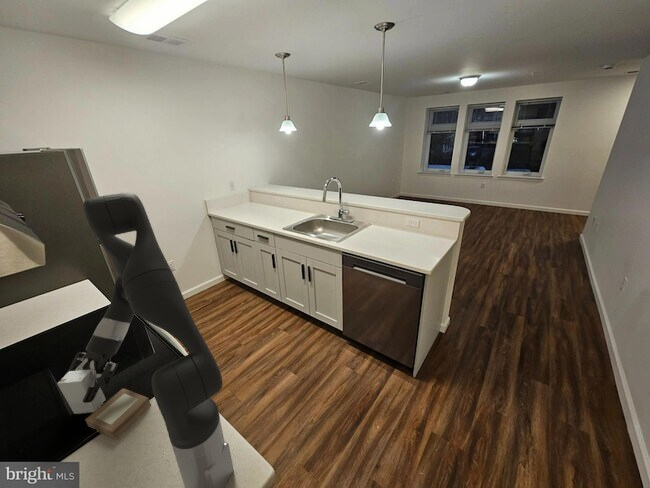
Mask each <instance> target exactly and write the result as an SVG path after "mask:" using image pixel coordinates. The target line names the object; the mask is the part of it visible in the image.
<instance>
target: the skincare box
mask: <svg viewBox="0 0 650 488" xmlns="http://www.w3.org/2000/svg"><path fill="white" fill-rule="evenodd" d="M90 372H91V370H80V371H69V372H68V373H67V372H66V373H65V375H64V376H63V377H62V378H60V380H59V381H58V382H57V386H58V388H59V389H60V391H61V393H62V394H63V397H64V398H65V400H66V402H67V404H68V406H69V407H70V409H71V411H72V412H73V414H74V415H76V414H77V415H79V414H87V413H94V412H95V411H96V410H97V409H99V408H100V407H101V405H103V404H104V403H105V402H106V399H107V398H106V397H105V394H104V392H103V390H102V388H101V387H100V388H99V390H98V392H97V394H96V396H95V398H94V399H93V401H92V402H89V403H84V402H82V401H83V399H84V397H85V395H86V393H87V391H88V389H89V387H91V379H90ZM96 382H98V380H97V381H96ZM104 401H105V402H104ZM103 402H104V403H103Z"/></svg>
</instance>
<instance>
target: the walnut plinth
mask: <svg viewBox="0 0 650 488" xmlns="http://www.w3.org/2000/svg"><path fill="white" fill-rule="evenodd" d="M151 406H152V404H151V402H150V398H149V397H147V396H144V395H142V394H139V393H136V392H134V391H132V390H129V389H126V388H121V389H120V390H119V391H118V392H116V393H115V394H114V395H113V396H112V397H111V398H109V399H108V400H107V401H105V402H104V403H103V404H102V406H101V407H100V408H99V409H97V410H96V411H95V412H92V413H91V414H90V415H89V416H88V417H86V418H85V419H84V420H85V422H86V425H87V427H88V428H89V427H91V428H93V429H96V430H97V431H96V432H98V433H99V434H102V435H104V436H106V437H109V438H110V439H113V440H114V441H116V440H118V439H119V438H120V436H121V435H123V433H125V431H127V430H128V429H129V428H130V427H131V426H132V425H133V424H134V423H135V422H136V421H137V420H138V419H139V418H140V416H142V415H143V414H144V413H145V412H146V411H147V410H148V409H149V408H150V407H151ZM91 428H90V429H91ZM93 429H92V430H93Z"/></svg>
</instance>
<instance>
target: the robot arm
mask: <svg viewBox="0 0 650 488" xmlns="http://www.w3.org/2000/svg"><path fill="white" fill-rule="evenodd" d="M82 206H83V213H84V215H85V218H86V221H87V223H88V226H89V228H90V229H91V231H92V233H93V234H94V236H95V237H96V239H97V241H98V242H99V244H100V245H101V247H102V248H103V249H104V251H105V253H106V254H108V256H109V257H110V259H111V262H112V264H113V266H114V268H115V270H116V273H117V276H116V278H115V282H114V287H113V292H112V297H111V300H110V304H109V306H108V308H107V310H106V312H105V313H104V315H103V317H102V319H101V320H100V321H99V323H98V324H97V326H96V328H95V330H94V332H93V334H92V335H91V338H90V340H89V341H88V343H87V346H86V347H85V351H86V352H80V351H79V352H77V353H76V354H75V357H74V358H73V360H72V361H71V364H70V366H69V368H68V370H67V371H66V374H67V373H68V372H69V371H80V370H91V372H90V379H91V387H89V389H88V391H87V393H86V395H85V397H84V399H83V401H82V402H84V403H89V402H92V401H93V399H94V398H95V396H96V394H97V392H98V390H99V388H101V387H108V386H109V384H110V382H111V380H112V378H113V377H114V374H115V373H116V370H117V368H118V366H119V364H118V363H115V362H112V357H113V356H115V355H117V353H118V351H119V349H120V347H121V345H122V343H123V341H124V339H125V337H126V335H127V333H128V330H129V328H130V325H131V323H132V321H133V319H134V316H135V315H136V316H138V317H140V318H141V319H143V320H144V321H146V322H147V323H150V324H152V325H154V326H156V327H157V328H159V329H162V330H164V331H165V332H166V333H168V334H170V335H171V336H173V337H174V338H176V339H177V340H178V341H179V342H180V343H181V345H182V346H183V347H184V349H186V351H187V352H188V354H186V355H184V356H182V357H180V358H178V359H176V360H174V361H172V362H170V363H168V364H166V365H164V366H162V367H160V368H158V369H157V370H155V372H153V374H152V376H151V389H152V394H153V396H154V399H155V401H156V404H157V406H158V409H159V412H160V414H161V416H162V419H163V422H164V424H165V427H166V430H167V435H168V438H169V441H170V444H171V447H172V450H173V454H174V457H175V460H176V464H177V467H178V469H179V473H180V476H181V479H182V483H183V486H184V488H225V487H226V485H227V483H228V482H229V479H230V477H231V475H232V474H233V473H234V465H233V459H232V455H231V450H230V443H229V442H226V440H225V437H224V433H223V426H222V423H221V417H220V413H219V412H220V411H219V408H218V405H217V402H216V401H214V400H213V399H212V397H213V396H215V395H217V394H218V393H219V392H220V391H221V390H222V388H223V384H224V383H223V377H222V373H221V370H220V368H219V366H218V363H217V360H216V359H215V358H214V356H213V353H212V351H211V349H210V348H209V345H208V344H207V342H206V341H205V339H204V338H203V335H202V333H201V332H200V330H199V328H198V326H197V324H196V323H195V320H194V318H193V317H192V315H191V312H190V309H189V307H188V305H187V303H186V300H185V298H184V296H183V293H182V291H181V289H180V285H179V283H178V282H177V279H176V277H175V275H174V273H173V271H172V269H171V266H170V265H169V263H168V261H167V259H166V257H165V255H164V253H163V251H162V249H161V248H160V247H161V246H160V245H159V242H158V240H157V238H156V236H155V233H154V230H153V227H152V224H151V222H150V219H149V216H148V214H147V211H146V208H145V206H144V204H143V202H142V200H141V199H140V197H139V196H138V195H137V194H135V193H134V192H120V193H113V194H106V195H102V196H101V195H100V196H93V197H89V198H87V199H85V200H84V201H83V205H82ZM130 232H136V233H135V234H136V235H135V242H134V244H132V243H130V242H128V241H126V240H123V239H121V238H120V237H118V235H122V234H127V233H130ZM75 367H76V368H75ZM96 381H97V382H96Z"/></svg>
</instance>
